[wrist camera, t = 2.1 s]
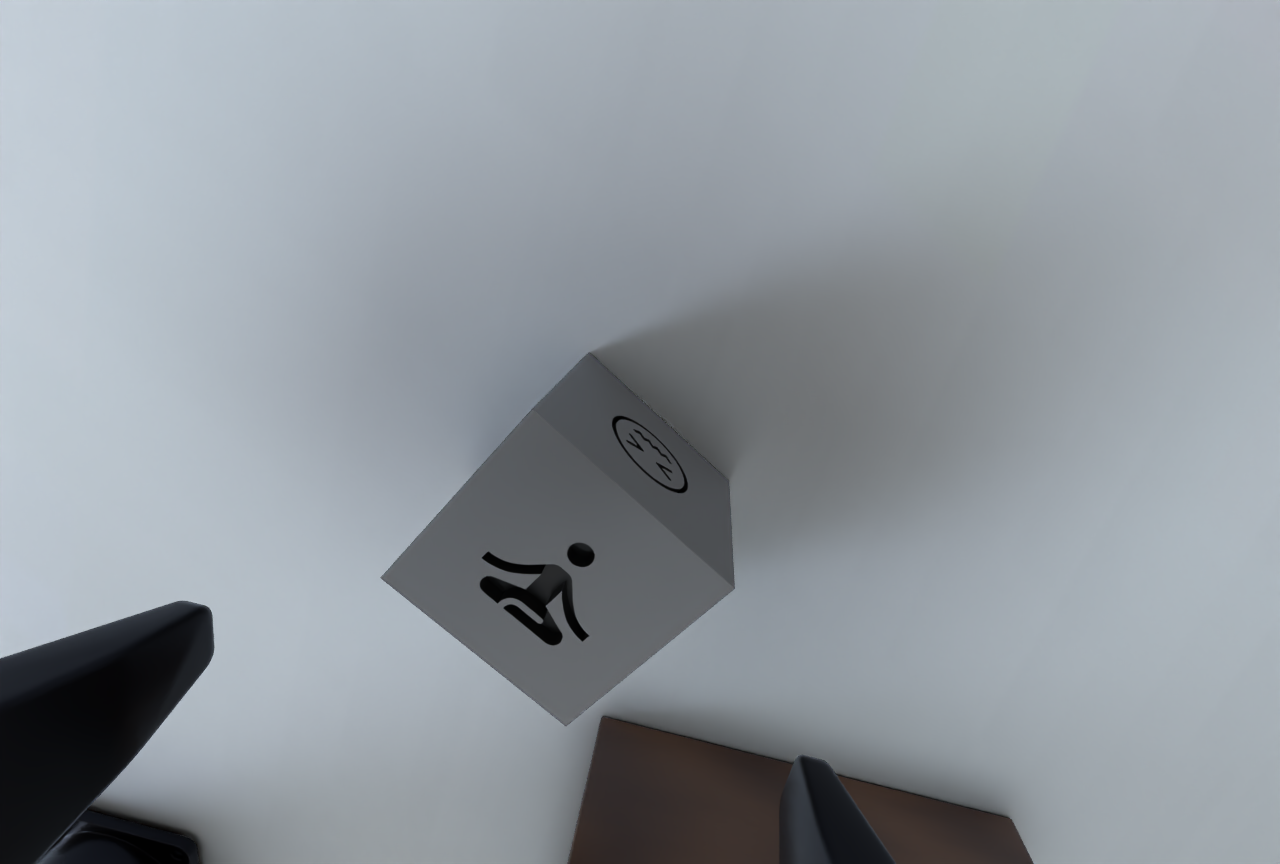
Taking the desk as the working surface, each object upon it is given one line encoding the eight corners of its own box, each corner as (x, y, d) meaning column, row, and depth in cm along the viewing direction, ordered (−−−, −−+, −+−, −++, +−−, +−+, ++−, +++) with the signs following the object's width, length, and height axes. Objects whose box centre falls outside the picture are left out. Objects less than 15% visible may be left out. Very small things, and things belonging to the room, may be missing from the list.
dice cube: (474, 479, 17) (380, 578, 12) (588, 352, 15) (532, 408, 10) (606, 591, 17) (565, 726, 13) (729, 481, 16) (734, 588, 11)
